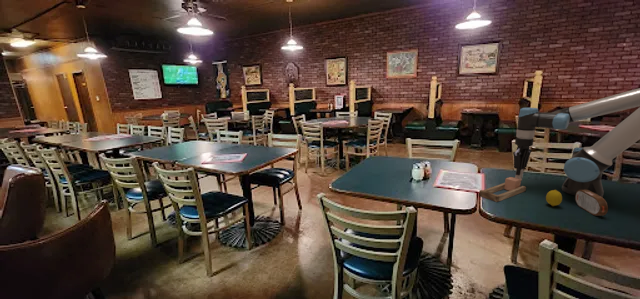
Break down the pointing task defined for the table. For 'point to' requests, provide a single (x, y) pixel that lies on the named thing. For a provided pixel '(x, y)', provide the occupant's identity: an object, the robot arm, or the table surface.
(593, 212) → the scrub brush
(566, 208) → the table surface
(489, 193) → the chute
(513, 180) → the block
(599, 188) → the robot arm
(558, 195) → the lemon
